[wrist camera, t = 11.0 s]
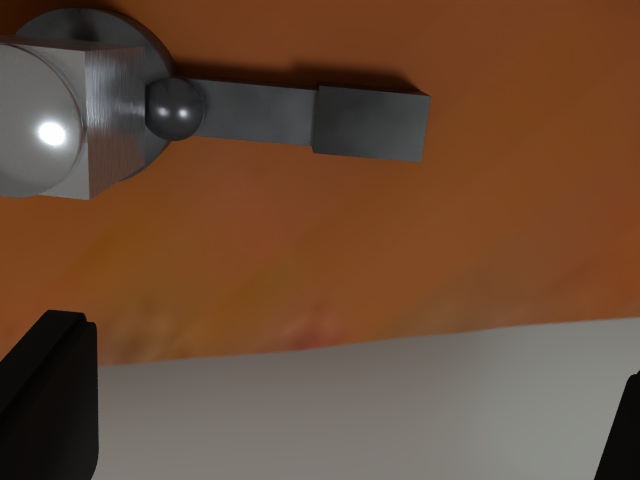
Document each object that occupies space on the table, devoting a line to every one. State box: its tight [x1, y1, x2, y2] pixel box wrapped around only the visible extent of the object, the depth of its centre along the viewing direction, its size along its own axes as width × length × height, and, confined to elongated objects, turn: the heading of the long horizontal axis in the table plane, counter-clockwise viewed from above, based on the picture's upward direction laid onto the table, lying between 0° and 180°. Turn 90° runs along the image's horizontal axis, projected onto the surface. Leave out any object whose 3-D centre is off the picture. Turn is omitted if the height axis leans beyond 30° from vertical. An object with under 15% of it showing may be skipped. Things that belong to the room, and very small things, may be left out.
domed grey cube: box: [0, 35, 145, 200], centre depth 28 cm, size 6×6×8 cm
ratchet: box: [15, 8, 431, 182], centre depth 32 cm, size 22×9×7 cm, turn 85°
